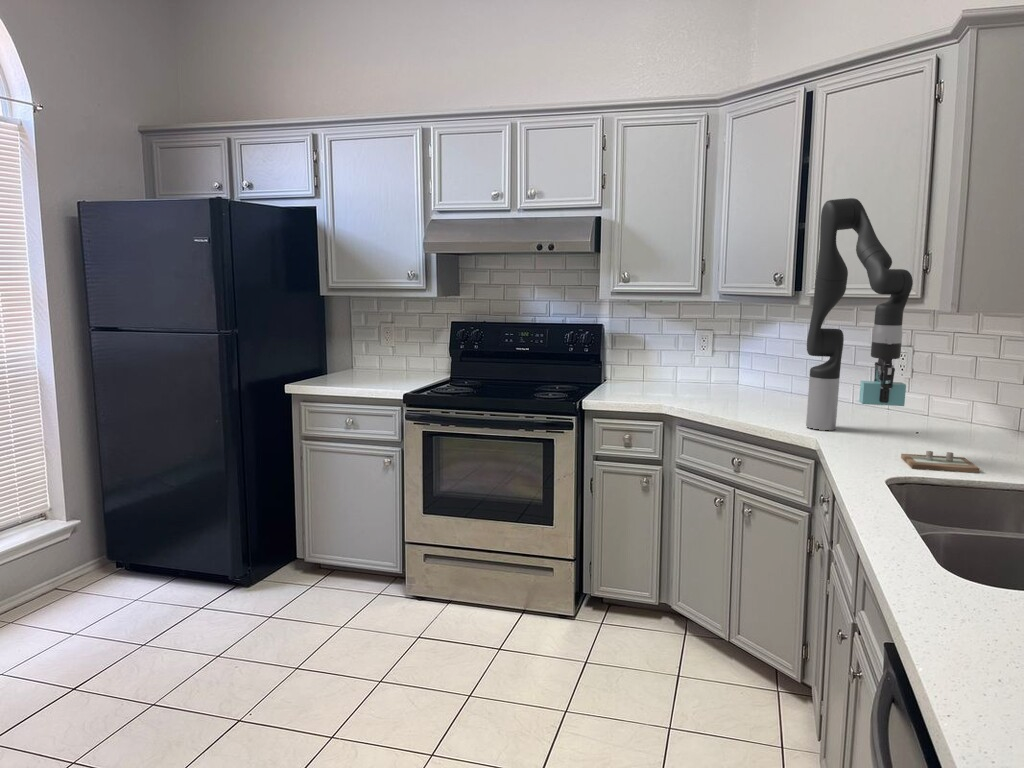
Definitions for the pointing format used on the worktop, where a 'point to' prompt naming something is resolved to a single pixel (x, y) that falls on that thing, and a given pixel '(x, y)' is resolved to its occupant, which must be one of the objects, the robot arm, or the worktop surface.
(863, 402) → the block
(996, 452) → the worktop surface
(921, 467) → the stub base
